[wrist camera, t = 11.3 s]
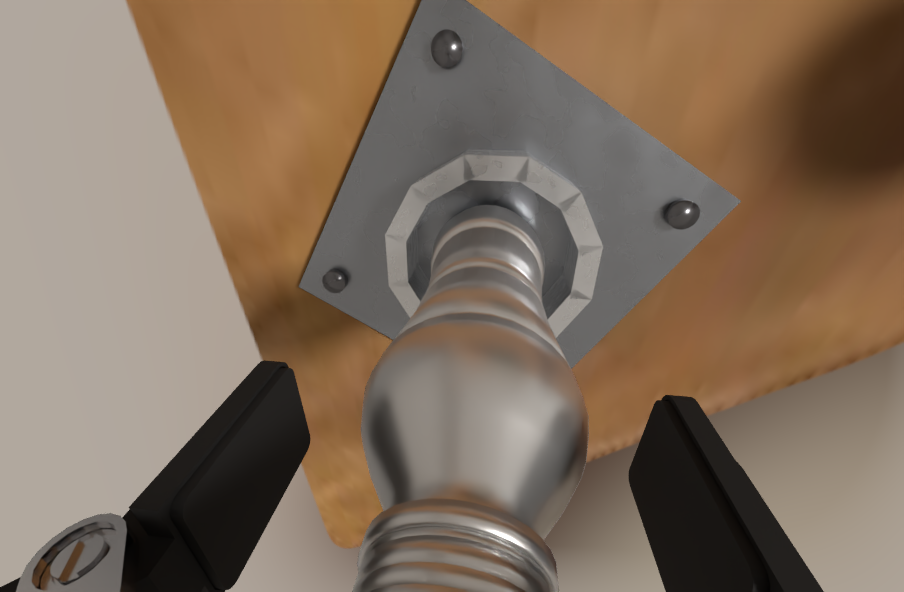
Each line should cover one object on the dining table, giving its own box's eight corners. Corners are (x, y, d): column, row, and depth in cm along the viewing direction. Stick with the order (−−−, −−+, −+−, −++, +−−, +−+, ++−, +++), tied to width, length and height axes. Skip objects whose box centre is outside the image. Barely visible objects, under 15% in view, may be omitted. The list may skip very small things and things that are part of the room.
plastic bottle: (517, 177, 21) (587, 522, 3) (555, 276, 24) (714, 775, 6) (420, 222, 23) (148, 589, 5) (465, 308, 25) (380, 759, 8)
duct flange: (302, 283, 27) (275, 306, 24) (434, -21, 18) (419, -49, 15) (525, 408, 30) (527, 444, 26) (734, 198, 21) (777, 214, 18)
